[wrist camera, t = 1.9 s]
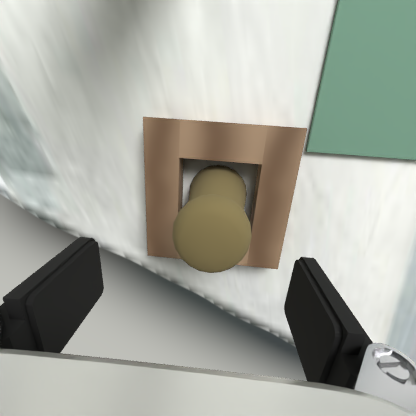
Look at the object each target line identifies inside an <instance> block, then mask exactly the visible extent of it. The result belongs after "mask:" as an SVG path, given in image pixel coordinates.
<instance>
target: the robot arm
mask: <svg viewBox="0 0 416 416" xmlns="http://www.w3.org/2000/svg"><path fill="white" fill-rule="evenodd" d="M103 289H104V287H103V278H102V270H101V262H100V255H99V246H98V242H96V241H95V240H94V239H93V238H85V237H80V238H78V239H77V240H75V241H74V242H73V243H72V244H70V245H69V246H68V247H67V248H65V249H64V250H63V251H62V252H61V253H59V254H58V255H56V257H54V258H53V259H51V260H50V261H49V262H47V263H46V264H45V265H44V266H42V267H41V268H40V269H39V270H37V271H36V272H35V273H33V274H32V275H31V276H30V277H28V278H27V279H26V280H25V281H23V282H22V283H21V284H20V285H18V286H17V287H16V288H14V289H13V290H12V291H11V292H9V293H8V294H7V295H6V296H4V297H3V301H4V303H3V304H2V305H1V306H0V416H416V363H415V362H414V361H413V360H411V359H410V358H409V357H408V356H407V355H405V354H404V353H402V352H401V351H399V350H397V349H395V348H393V347H391V346H389V345H385V344H382V343H373V342H372V341H371V340H370V338H369V337H368V335H367V334H366V332H365V331H364V329H363V328H362V326H361V325H360V324H359V322H358V321H357V319H356V318H355V316H354V315H353V313H352V312H351V310H350V309H349V308H348V306H347V305H346V303H345V302H344V300H343V299H342V297H341V296H340V294H339V293H338V292H337V290H336V289H335V287H334V286H333V285H332V283H331V282H330V280H329V279H328V277H327V276H326V274H325V273H324V271H323V270H322V269H321V267H320V266H319V264H318V263H317V261H316V260H315V259H314V258H306V257H300V259H299V260H296V261H295V264H294V268H293V272H292V276H291V280H290V284H289V289H288V293H287V297H286V301H285V306H284V310H285V315H286V318H287V321H288V324H289V327H290V330H291V333H292V336H293V339H294V342H295V345H296V348H297V351H298V354H299V357H300V360H301V363H302V366H303V369H304V372H305V375H306V378H307V381H301V380H293V379H286V378H277V377H270V376H262V375H253V374H244V373H236V372H226V371H218V370H210V369H201V368H192V367H183V366H174V365H165V364H156V363H147V362H137V361H128V360H119V359H109V358H100V357H90V356H80V355H71V354H61V353H60V352H61V351H62V350H63V348H64V347H65V345H66V344H67V343H68V341H69V340H70V338H71V337H72V336H73V334H74V333H75V331H76V330H77V329H78V327H79V326H80V324H81V323H82V322H83V320H84V319H85V317H86V316H87V315H88V313H89V312H90V310H91V309H92V308H93V306H94V305H95V303H96V302H97V301H98V299H99V298H100V296H101V295H102V293H103Z"/></svg>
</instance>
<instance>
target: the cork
mask: <svg viewBox="0 0 416 416" xmlns="http://www.w3.org/2000/svg"><path fill="white" fill-rule="evenodd" d="M246 196H247V192H246V185H245V183H244V181H243V179H242V177H241V176H240V175H239V174H238V173H237V172H236V171H235V170H233V169H231V168H229V167H227V166H221V165H215V166H209V167H207V168H205V169H203V170H201V171H200V172H199V173H198V174H197V175H196V176H195V177H194V179H193V181H192V183H191V185H190V193H189V201H188V203H187V204H186V205H185V206H184V207H183V208H181V210H180V211H179V213H178V215H177V217H176V219H175V221H174V223H173V233H172V238H173V242H174V246H175V249H176V251H177V252H178V254H179V256H180V257H181V258H182V259H183V260H184V261H185V262H186V263H187V264H188V265H189V266H191V267H193V268H195V269H197V270H199V271H203V272H209V273H214V272H222V271H225V270H227V269H230V268H232V267H234V266H235V265H236V264H237V263H239V262H240V261H241V260H242V259H243V258H244V256H245V255H246V253H247V252H248V249H249V245H250V242H251V238H252V234H251V225H250V221H249V219H248V217H247V215H246V213H245V211H244V207H245V201H246Z"/></svg>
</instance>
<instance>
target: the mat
mask: <svg viewBox="0 0 416 416" xmlns="http://www.w3.org/2000/svg"><path fill="white" fill-rule="evenodd" d="M306 151H307V152H319V153H332V154H345V155H358V156H372V157H385V158H398V159H411V160H416V0H338V3H337V7H336V12H335V17H334V21H333V26H332V31H331V35H330V40H329V45H328V49H327V54H326V58H325V63H324V68H323V72H322V77H321V82H320V86H319V91H318V96H317V100H316V105H315V110H314V114H313V119H312V124H311V128H310V133H309V138H308V142H307V147H306Z"/></svg>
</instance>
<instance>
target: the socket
mask: <svg viewBox="0 0 416 416" xmlns="http://www.w3.org/2000/svg"><path fill="white" fill-rule="evenodd" d="M143 132H144V162H145V192H146V222H147V251H148V255H149V256H158V257H167V258H177V259H182V258H181V257H180V256H179V254H178V252H177V251H176V249H175V246H174V242H173V238H172V233H173V223H174V221H175V219H176V217H177V215H178V213H179V211H180V210H181V208H182V196H183V160H184V158H188V159H201V160H213V161H226V162H238V163H251V164H258V170H257V177H256V184H255V191H254V198H253V204H252V211H251V218H250V225H251V234H252V238H251V242H250V245H249V249H248V252H247V253H246V255H245V256H244V258H243V259H242V260H241V261H240V262H239V263H237V264H236V265H243V266H253V267H262V268H271V269H278V265H279V260H280V256H281V251H282V246H283V241H284V237H285V232H286V227H287V222H288V218H289V213H290V208H291V203H292V199H293V194H294V189H295V184H296V180H297V175H298V170H299V165H300V160H301V156H302V151H303V146H304V141H305V137H306V132H307V128H294V127H280V126H266V125H252V124H237V123H223V122H209V121H195V120H180V119H166V118H152V117H143Z"/></svg>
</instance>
